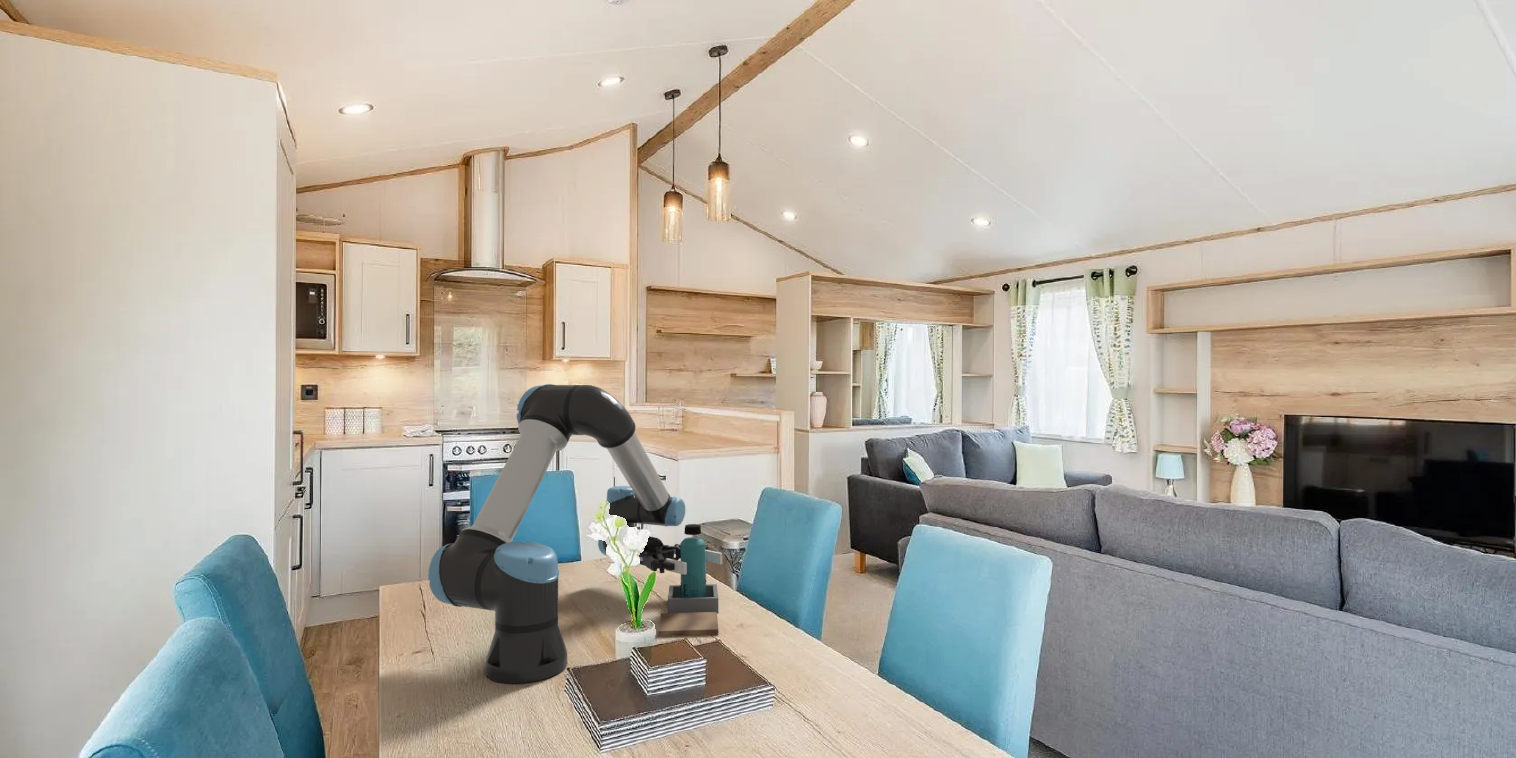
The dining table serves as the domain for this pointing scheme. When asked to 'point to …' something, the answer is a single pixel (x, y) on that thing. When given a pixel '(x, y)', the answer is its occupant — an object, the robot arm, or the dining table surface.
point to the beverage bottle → (693, 564)
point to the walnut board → (688, 624)
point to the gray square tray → (692, 601)
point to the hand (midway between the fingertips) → (704, 563)
